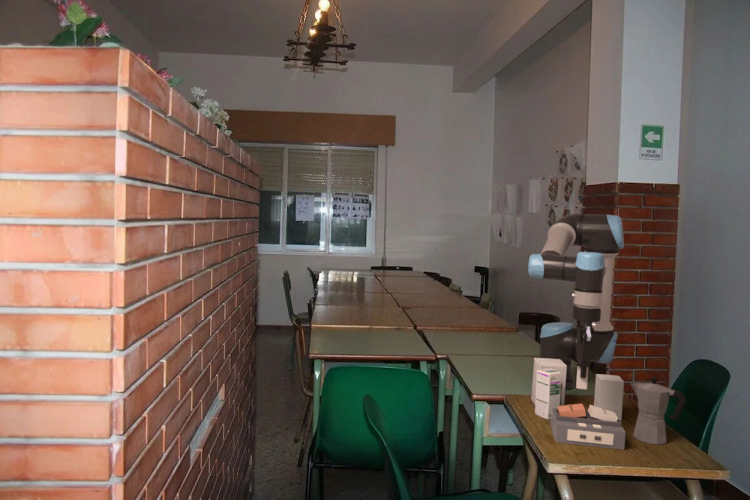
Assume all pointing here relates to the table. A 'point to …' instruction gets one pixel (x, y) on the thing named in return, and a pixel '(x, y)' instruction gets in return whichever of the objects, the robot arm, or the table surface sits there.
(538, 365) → the supplement box
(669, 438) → the table surface
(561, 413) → the rocker
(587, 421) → the console
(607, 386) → the supplement box
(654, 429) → the coffeepot
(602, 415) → the rocker
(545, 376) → the syrup box
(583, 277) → the robot arm
